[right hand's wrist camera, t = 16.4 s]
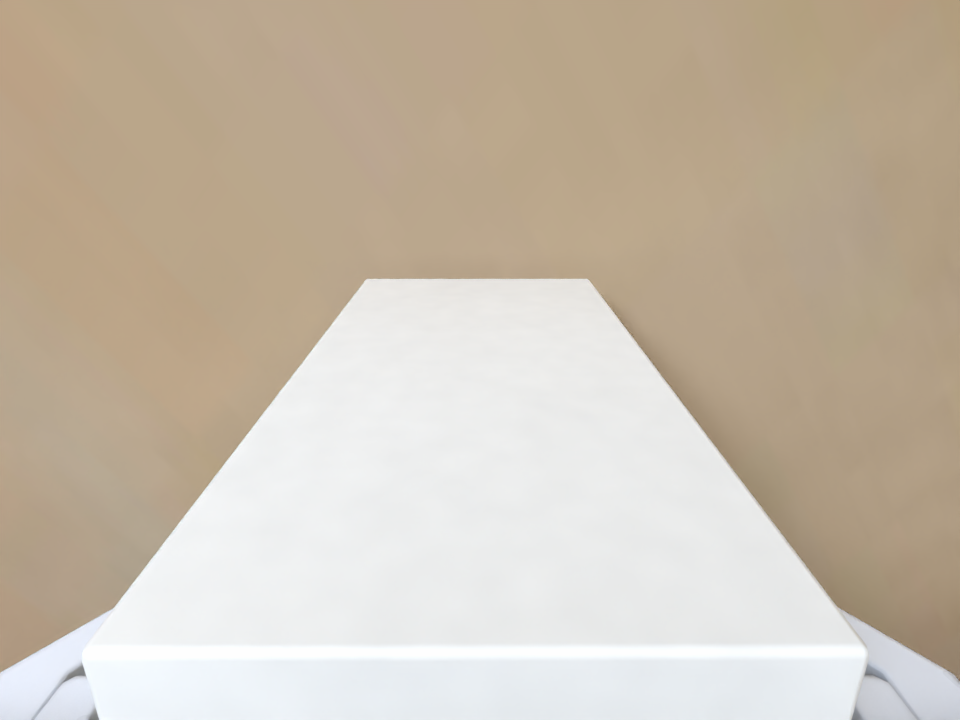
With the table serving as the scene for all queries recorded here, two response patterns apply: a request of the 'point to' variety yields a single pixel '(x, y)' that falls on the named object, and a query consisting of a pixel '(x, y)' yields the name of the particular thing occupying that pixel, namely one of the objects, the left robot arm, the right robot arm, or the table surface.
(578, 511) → the box
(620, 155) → the table surface
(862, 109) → the table surface
